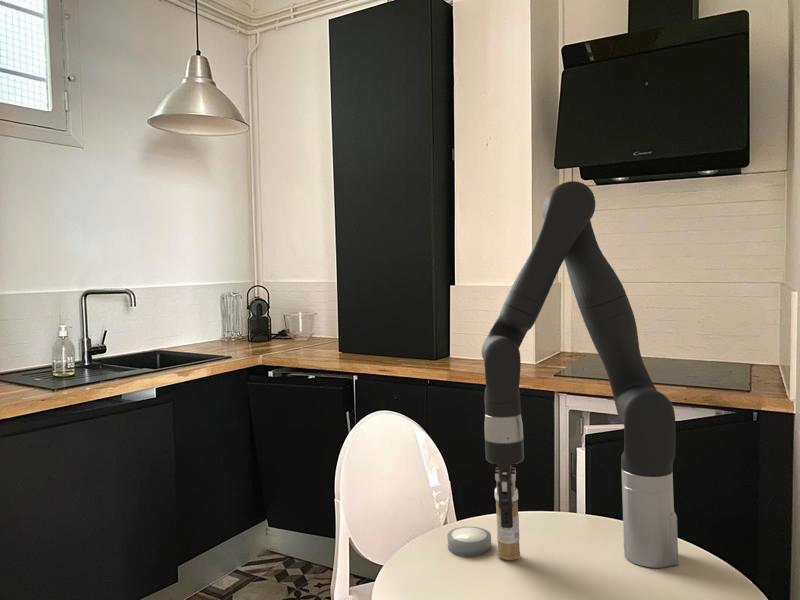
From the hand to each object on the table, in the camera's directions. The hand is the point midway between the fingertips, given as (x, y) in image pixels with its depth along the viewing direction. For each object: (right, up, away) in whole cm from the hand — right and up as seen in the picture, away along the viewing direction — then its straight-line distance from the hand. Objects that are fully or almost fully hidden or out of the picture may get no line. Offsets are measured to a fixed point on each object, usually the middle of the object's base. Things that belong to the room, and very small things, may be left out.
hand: (507, 521), depth 121 cm
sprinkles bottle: (0, -7, 0) cm, 7 cm away
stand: (-7, -7, +6) cm, 12 cm away
